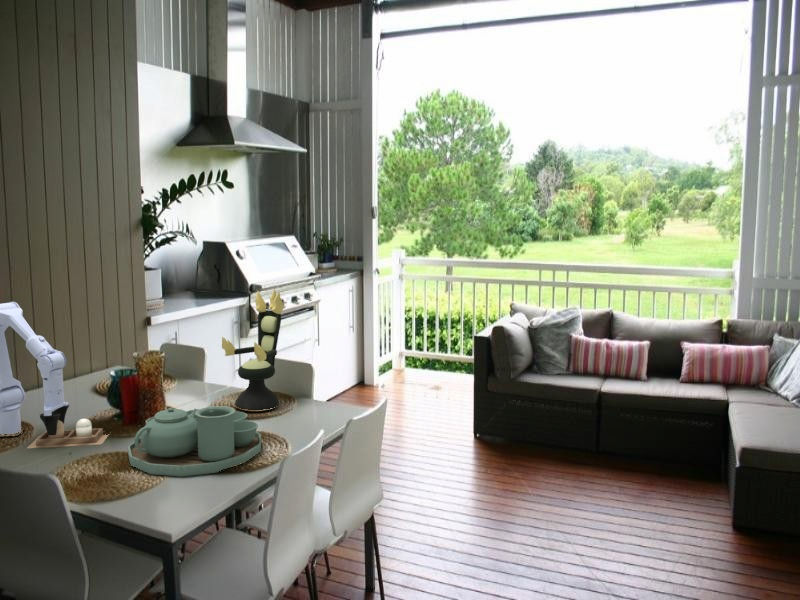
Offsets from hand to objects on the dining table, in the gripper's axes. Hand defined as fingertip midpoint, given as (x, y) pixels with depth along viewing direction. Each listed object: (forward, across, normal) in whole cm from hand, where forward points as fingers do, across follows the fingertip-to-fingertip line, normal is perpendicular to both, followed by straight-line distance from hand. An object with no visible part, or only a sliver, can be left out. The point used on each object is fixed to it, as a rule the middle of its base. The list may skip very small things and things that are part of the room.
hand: (55, 431), depth 213 cm
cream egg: (+3, 0, -8) cm, 9 cm away
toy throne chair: (+4, +31, -64) cm, 71 cm away
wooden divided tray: (+4, 0, -4) cm, 6 cm away
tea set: (+4, -17, -45) cm, 48 cm away
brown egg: (+3, 0, 0) cm, 3 cm away
